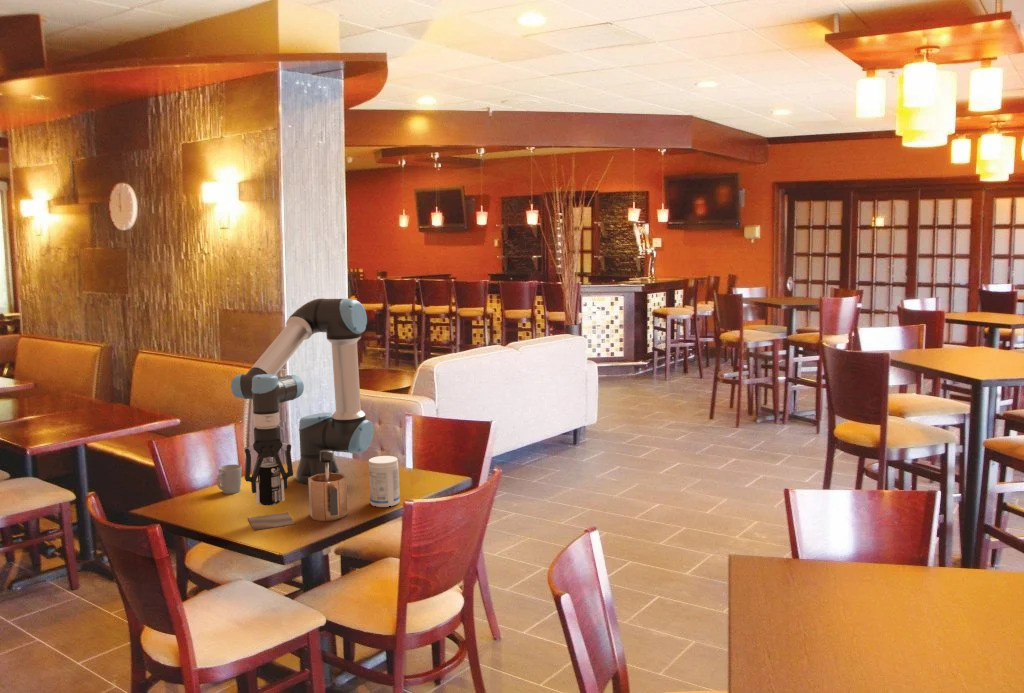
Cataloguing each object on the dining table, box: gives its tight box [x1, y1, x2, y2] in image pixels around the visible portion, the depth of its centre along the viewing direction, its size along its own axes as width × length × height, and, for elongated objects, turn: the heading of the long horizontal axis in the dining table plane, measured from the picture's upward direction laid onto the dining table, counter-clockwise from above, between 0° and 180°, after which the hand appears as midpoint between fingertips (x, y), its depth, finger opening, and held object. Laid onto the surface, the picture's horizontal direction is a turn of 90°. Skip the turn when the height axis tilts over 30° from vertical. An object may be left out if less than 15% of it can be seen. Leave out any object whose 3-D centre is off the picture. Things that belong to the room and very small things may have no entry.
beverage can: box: [257, 461, 282, 506], centre depth 254 cm, size 7×7×12 cm
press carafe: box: [307, 472, 349, 522], centre depth 258 cm, size 14×11×12 cm
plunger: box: [320, 450, 333, 482], centre depth 259 cm, size 8×8×17 cm
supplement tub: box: [367, 455, 401, 508], centre depth 271 cm, size 10×10×15 cm
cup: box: [216, 463, 243, 495], centre depth 285 cm, size 8×10×8 cm
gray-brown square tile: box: [247, 512, 296, 532], centre depth 255 cm, size 12×12×1 cm
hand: (270, 501), depth 254 cm, fingers closed on beverage can, 7 cm apart
